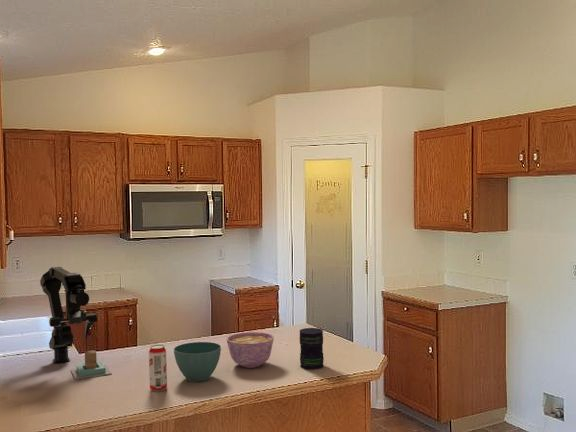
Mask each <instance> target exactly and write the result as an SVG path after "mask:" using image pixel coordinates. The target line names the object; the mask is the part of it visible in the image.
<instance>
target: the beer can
mask: <svg viewBox="0 0 576 432" xmlns="http://www.w3.org/2000/svg"><path fill="white" fill-rule="evenodd" d="M149 348H150V349H149V351H148V364H149V365H148V366H149V367H148V370H149V371H148V372H149V389H150V390H151V391H153V392H156V393H157V392H162V391H165V390H166V389H167V387H168V375H167V373H168V372H167V350H166V348H165V345H163V344H154V345H151V346H150V347H149Z"/></svg>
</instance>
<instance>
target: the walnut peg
mask: <svg viewBox="0 0 576 432" xmlns="http://www.w3.org/2000/svg"><path fill="white" fill-rule="evenodd" d="M84 364H85V369H92V368H97V351H96V350H88V351H84Z"/></svg>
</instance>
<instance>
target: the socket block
mask: <svg viewBox="0 0 576 432" xmlns="http://www.w3.org/2000/svg"><path fill="white" fill-rule="evenodd" d="M70 372H71V374H72V376H73V378H74V380H75V381H78V380H85V379H92V378H98V377H105V376H111V375H112V371H111V370H110V369H109V367H108V365H107V364H104V363H103V362H102V361H98V362H97V368H92V369H85V363H84V364H77V365H76V368H73V369H71V370H70Z"/></svg>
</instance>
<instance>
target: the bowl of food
mask: <svg viewBox="0 0 576 432" xmlns="http://www.w3.org/2000/svg"><path fill="white" fill-rule="evenodd" d="M274 338H275V336H274V335H273V334H270V333H266V332H256V331H253V332H252V331H251V332H250V331H249V332H241V333H240V332H239V333H234V334H232V335H229V336H227V337H226V343H227V348H228V351H229V354H230V358H231V359H232V360H233V362H234V363H235V364H237V365H239V366H241V367H242V368H247V369H248V368H249V369H250V368H251V369H252V368H258V367H260V366H261V365H263V364H265V363H266V362H267V361H268V360H269V359H270V358H271V353H272V348H273V344H274Z"/></svg>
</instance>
